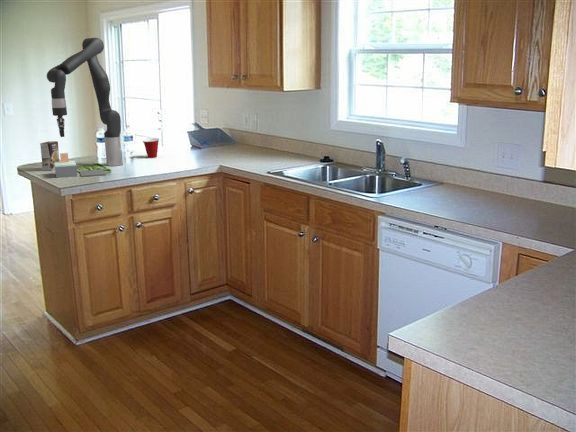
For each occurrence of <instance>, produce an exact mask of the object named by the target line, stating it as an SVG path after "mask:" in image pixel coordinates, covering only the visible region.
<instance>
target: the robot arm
mask: <svg viewBox="0 0 576 432" xmlns="http://www.w3.org/2000/svg"><path fill="white" fill-rule="evenodd" d="M81 45H82V50H80V51H79V52H76V53H75V54H73V55H70V56H69V57H67V58H66V59H65V60H63V61H62V62H61V63H59V64H58V65H56V66H54V67H52V68H50V69H49V70H48V71H47V72H46V79H47V81H48V82H49V83H53V84H54V86H53V87H52V88H50V96H51V111H52V116H55V117H56V124H57V128H58V132H59V133H58V134H59V137H60V138H64V137H65V118H64V117H63V116H67V115H68V112H67V111H68V110H67V109H68V108H67V100H66V94H65V89H66V81H67V77H66V76H68V75H70V74H72V73H73V72H74V71H76V70H77V69H78V68H79V67H80V66H81V65H83V64H84V63H86V62H87V64H88V65H87V66H88V69H89V73H90V76H91V80H92V85H93V88H94V92H95V96H96V100H97V105H98V111H99V112H98V113H99V119H100V121H101V122H102V124H104V125H106V131H104V133H103V139H104V151H105V158H106V159H105V163H106V165H107V166H110V167H116V166H123V153H122V152H123V151H122V145H121V144H122V143H121V132H122V124H121V123H122V121H121V115H120V112H119V111H117V110H113V109H112V106H111V103H110V94H111V85H110V84H111V83H110V80H109V76H108V74H107V72H106V71H105V70H104V68H103V66H102V65H101V64H100V61H99V59H98V55H99V54H102V52H103V51H104V49H105V43H104V41H103V40H102V39H101V38H99V37H87V38H84V39H83V41H82V44H81Z"/></svg>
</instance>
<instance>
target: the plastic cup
mask: <svg viewBox="0 0 576 432" xmlns="http://www.w3.org/2000/svg"><path fill="white" fill-rule="evenodd" d="M159 140H160V138H158V137H157V138H156V137H155V138H154V137H153V138H146V139H143V140H142V143H143V144H144V148H145V152H146V155H147V158H148V159H156V158H157V157H158V150H159V149H158V148H159Z"/></svg>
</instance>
